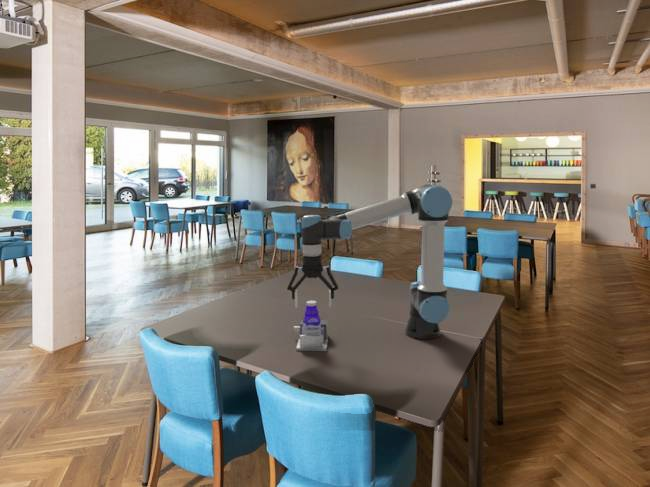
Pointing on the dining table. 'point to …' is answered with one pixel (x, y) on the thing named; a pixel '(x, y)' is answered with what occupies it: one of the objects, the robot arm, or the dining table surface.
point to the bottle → (311, 319)
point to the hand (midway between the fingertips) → (313, 306)
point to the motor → (323, 324)
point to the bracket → (312, 342)
